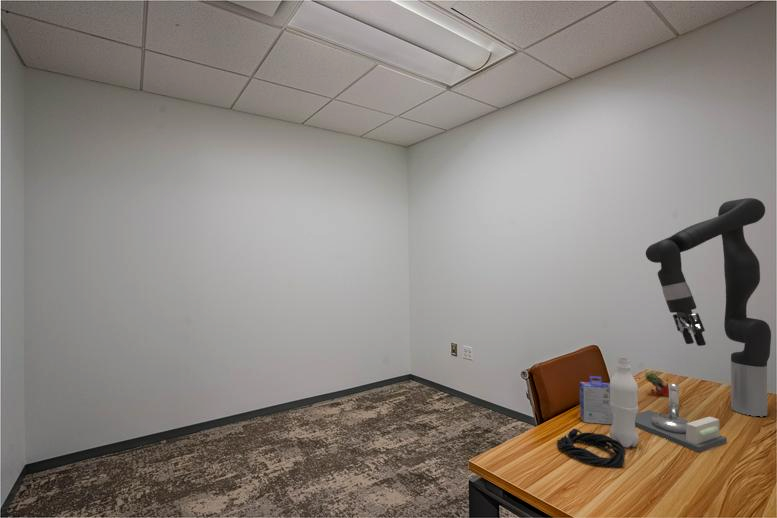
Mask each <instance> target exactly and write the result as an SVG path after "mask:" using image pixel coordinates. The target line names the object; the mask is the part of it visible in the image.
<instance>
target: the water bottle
mask: <svg viewBox="0 0 777 518" xmlns="http://www.w3.org/2000/svg"><path fill="white" fill-rule="evenodd" d="M609 383H610V406H611V408H612V412H613V423H612V424H611V426H610V427H609V435H610V436H609V437H610V438H612V439H614V440H616V441H618V442H620V443H621V444H622V445H623V447H624V448H631V447H633V448H634V447H636V445H637V444H638V442H639V434H638V432H637V427H635V417H636V414H637V413H639V405H638V403H639V402H638V401H639V399H638V398H639V385H638V383H637V381H636V379H635V378H634V376H633V374H632V372H631V364H630V358H627V357H623V356H622V357H621V356H620V357H617V362H616V371H615V373H614V374H613V376H612V378H611V379H610V381H609Z"/></svg>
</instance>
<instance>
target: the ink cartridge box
mask: <svg viewBox="0 0 777 518" xmlns="http://www.w3.org/2000/svg"><path fill="white" fill-rule="evenodd" d="M593 379H597V380H593ZM578 384H579V386H578V387H579V417H580V420H581V421H582V422H583V423H589V424H590V423H591V424H602V425H603V424H605V425H612V423H613V412H612V408H611V406H610V382H603V380H602V376H598V375H597V376H596V375H589V381H588V382H587V381H579V383H578Z"/></svg>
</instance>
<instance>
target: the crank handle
mask: <svg viewBox="0 0 777 518" xmlns="http://www.w3.org/2000/svg"><path fill="white" fill-rule="evenodd" d="M668 388H669V396H668V413H659V412H657V413H658V414H653V415H652V424H653V425H654V426H656V427H657V428H660V429H662V430H665V431H668V432H672V433H679V434H686V423H690V422H691V421H690V420H688V419H686V418H684V417H681V416H680V408H679V407H680V402H679V401H680V394H679V392H680V386H679V385H678V384H677V383H675V382H672V383H669V384H668Z"/></svg>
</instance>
